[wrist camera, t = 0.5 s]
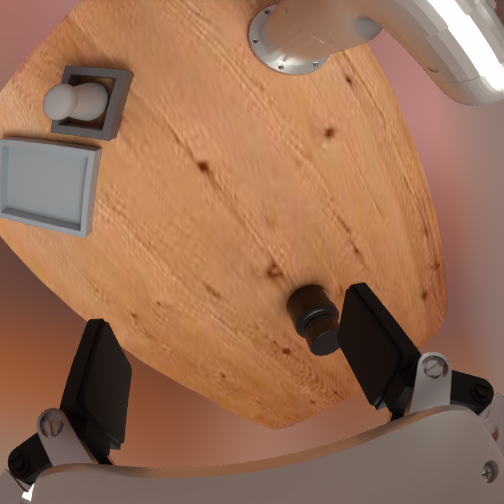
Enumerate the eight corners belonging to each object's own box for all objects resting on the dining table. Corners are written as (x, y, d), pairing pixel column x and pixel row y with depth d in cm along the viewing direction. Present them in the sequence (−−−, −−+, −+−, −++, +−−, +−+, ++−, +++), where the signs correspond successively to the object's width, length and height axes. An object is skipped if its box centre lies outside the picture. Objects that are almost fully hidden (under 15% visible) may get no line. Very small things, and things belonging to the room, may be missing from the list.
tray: (9, 136, 29) (-1, 139, 27) (102, 148, 35) (95, 151, 33) (6, 210, 35) (-3, 216, 33) (91, 230, 41) (85, 238, 38)
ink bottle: (318, 319, 59) (338, 359, 49) (281, 319, 57) (297, 362, 47) (333, 283, 55) (359, 322, 45) (294, 281, 53) (315, 323, 42)
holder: (77, 68, 28) (66, 66, 24) (134, 74, 31) (127, 70, 27) (62, 129, 32) (50, 132, 29) (116, 137, 35) (108, 140, 32)
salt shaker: (88, 79, 29) (46, 72, 18) (118, 88, 31) (84, 81, 20) (74, 114, 31) (29, 121, 20) (103, 124, 34) (65, 132, 22)
